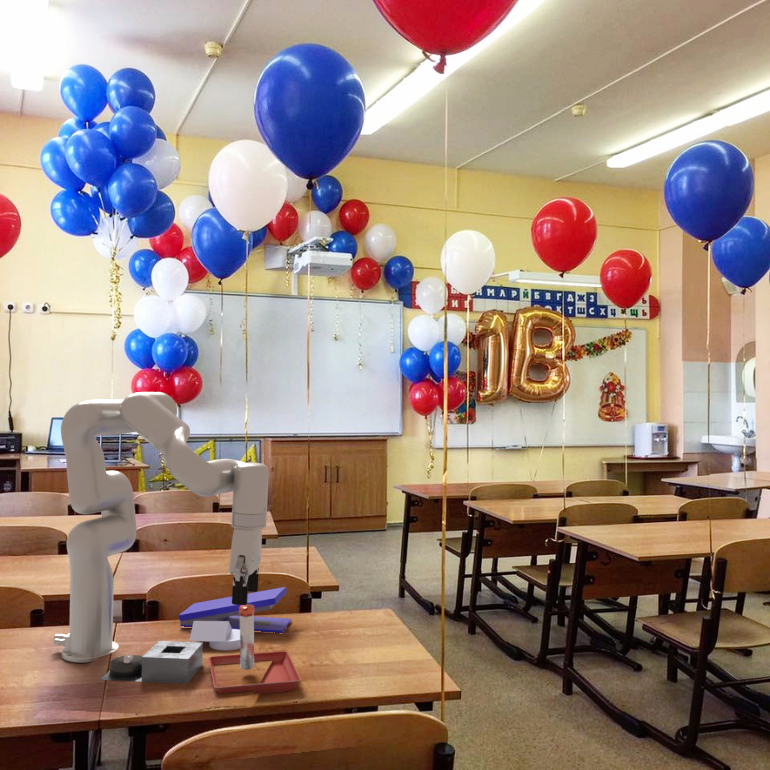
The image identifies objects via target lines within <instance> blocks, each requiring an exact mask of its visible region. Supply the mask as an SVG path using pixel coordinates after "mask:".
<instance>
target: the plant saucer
mask: <svg viewBox="0 0 770 770" xmlns="http://www.w3.org/2000/svg"><path fill="white" fill-rule="evenodd" d="M271 660H272V661H271ZM258 661H259V662H260V661H271V663H270V665H269V666H268V668H267V670H266V671H265V673H264V675H263V677H262V678H261V680H260V682H259V683H247V684H237V685H225V686H218V682H217V677H216V671H215V665H226V664H227V665H228V664H238V663H239V664H240V653H239V654H227V655H226V654H225V655H214V656H213V655H212V656H209V657H208V663H209V664H208V665H209V669H210V674H211V678H212V683H213V688H214V690H215V691H216V692H217V693H218V694H229V693H230V694H231V693H240V692H250V691H251V692H252V691H254V693H253V695H261V694H272V693H280V692H281V693H282V692H290V691H293V690H294V689H295V688H296V687H297V686H298V685H299V684H300V682H301V680H302V678H301V676H300V674H299V672H298V669H297V668H296V666H295V663H294V662H293V660H292V657H291V656H290V654H289V652H288V651H285V650H283V651H281V650H280V651H269V652H267V651H266V652H265V651H264V652H254V662H258Z"/></svg>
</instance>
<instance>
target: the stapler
mask: <svg viewBox="0 0 770 770" xmlns="http://www.w3.org/2000/svg"><path fill="white" fill-rule="evenodd" d="M286 594H288V591H287V587H286V586H282V587H278V588H272V589H267V590H266V589H265V590H261V591H257V592H250V593H249V592H248V598H247V604H250V605H254V613H259V612H263V611H270V610H271V609H272V608H274V606H275V605H277V604H278V603H279V602H280V601H281V600H282V598H283V597H284V596H285V595H286ZM240 606H242V605H235V604H232V596H227V597H223V598H218V599H217V598H216V599H211V600H206V601H201V602H200V601H199V602H195V603H193V604H191V605H190V606H189V607H188V608H186V609H185V610H184V611H182V612H181V613H179V614H178V619H179V622H180V626H184V627H192V626H193V622H194V621H229V623H230V625H231V628H232V629H238V630H240V615H239V607H240ZM290 621H291V622H292V618H287V617H286V618H283V617H265V616H263V617H262V616H254V631H261V632H273V633H274V632H275V633H284V632H285V631H286V630H285V628H286V627H287V626H288V624H289V623H290ZM290 624H291V623H290ZM290 624H289V625H290ZM288 627H289V626H288ZM288 627H287V628H288ZM287 628H286V629H287ZM284 630H285V631H284ZM283 631H284V632H283Z"/></svg>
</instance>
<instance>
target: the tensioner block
mask: <svg viewBox="0 0 770 770" xmlns="http://www.w3.org/2000/svg"><path fill="white" fill-rule="evenodd" d="M203 649H204V643H203V642H201V641H171V640H158V641H157V642H156V643H155V644H154V645H152V647H150V649H149V650H148V651H147V652H146V653H144V654H143V655H139V654H128V655H127V654H126V655H122V656H118V657H115V658H113V659H112V660H110V662H109V670H108V671H107V672H106V673H104V675H103V676H101V678H99V679H98V680H99V681H118V682H140V683H141V682H142V683H160V684H161V683H163V684H181V685H182V684H183V685H187V684H188V683H189V682H190V681H191V680H192V678H193V677H194V676H195V675H196V674H197V673H198V671H199V670H200V669H201V668H202V666H203V665H204V663H203V658H204V657H203V653H204V652H203V651H204V650H203Z"/></svg>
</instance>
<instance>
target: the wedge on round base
mask: <svg viewBox="0 0 770 770" xmlns="http://www.w3.org/2000/svg"><path fill="white" fill-rule="evenodd" d="M188 642H208V643H209V647H210V648H211V649H213V650H217V651H234V650H235V651H236V650H240V630H238V629H232V628H231V625H230V623H229V621H194V622H193V626H192V629H191V631H190V636H189V640H188Z"/></svg>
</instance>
